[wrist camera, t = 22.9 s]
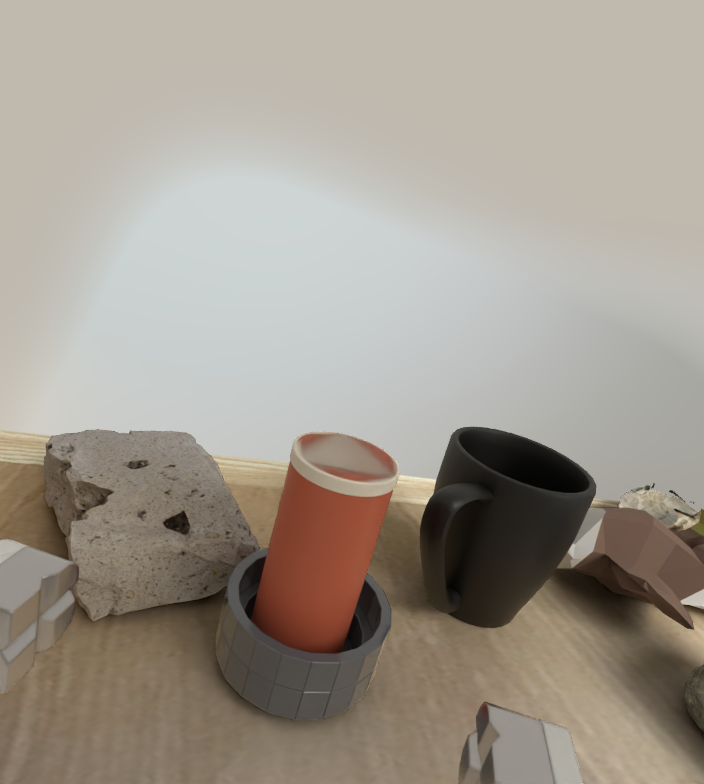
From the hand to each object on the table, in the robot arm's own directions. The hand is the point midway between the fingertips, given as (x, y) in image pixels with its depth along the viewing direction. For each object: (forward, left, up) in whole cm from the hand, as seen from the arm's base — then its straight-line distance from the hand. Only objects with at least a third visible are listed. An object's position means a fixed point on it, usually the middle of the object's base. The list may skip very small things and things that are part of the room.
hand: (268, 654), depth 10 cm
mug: (+4, -21, -12) cm, 24 cm away
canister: (+7, -10, -11) cm, 16 cm away
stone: (+17, -8, -12) cm, 22 cm away
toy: (-9, -40, -5) cm, 41 cm away
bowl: (+6, -10, -11) cm, 17 cm away
